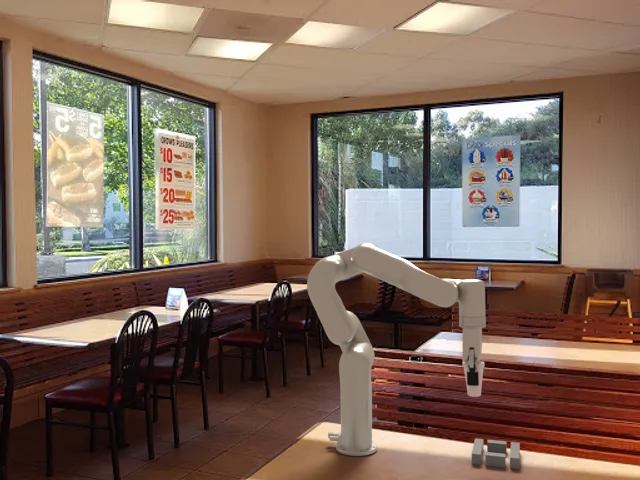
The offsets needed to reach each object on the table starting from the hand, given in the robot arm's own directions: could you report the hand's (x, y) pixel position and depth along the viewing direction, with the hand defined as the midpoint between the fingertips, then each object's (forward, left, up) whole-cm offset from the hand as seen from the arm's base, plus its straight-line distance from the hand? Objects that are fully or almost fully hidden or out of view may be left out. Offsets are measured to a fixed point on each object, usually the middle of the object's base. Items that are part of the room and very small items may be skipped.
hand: (473, 381), depth 182 cm
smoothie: (0, 0, -4) cm, 4 cm away
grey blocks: (+6, +1, -22) cm, 23 cm away
